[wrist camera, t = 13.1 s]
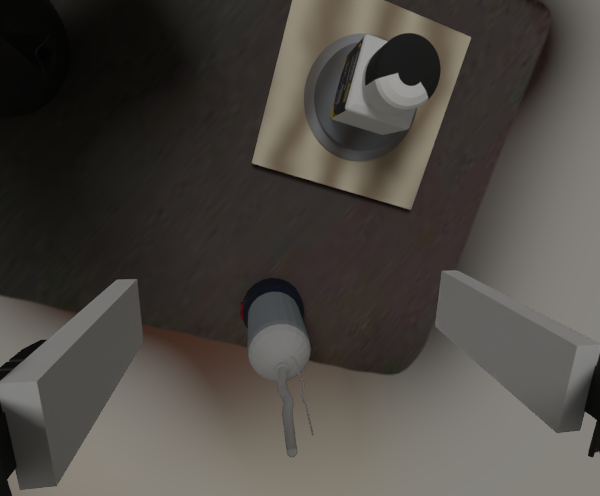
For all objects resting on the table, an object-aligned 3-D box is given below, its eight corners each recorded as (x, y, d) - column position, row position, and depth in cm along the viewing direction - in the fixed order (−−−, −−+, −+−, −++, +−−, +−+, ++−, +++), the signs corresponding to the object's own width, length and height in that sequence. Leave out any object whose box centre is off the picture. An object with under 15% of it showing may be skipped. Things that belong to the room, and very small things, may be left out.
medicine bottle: (345, 55, 39) (386, 8, 27) (401, 74, 40) (463, 38, 28) (328, 119, 40) (360, 100, 29) (383, 136, 41) (435, 125, 30)
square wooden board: (251, 163, 42) (251, 163, 40) (299, -30, 38) (303, -43, 36) (407, 208, 47) (416, 211, 44) (466, 40, 43) (479, 32, 40)
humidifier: (230, 303, 46) (209, 452, 22) (277, 266, 46) (306, 377, 22) (267, 343, 49) (285, 517, 25) (312, 308, 48) (374, 450, 24)
